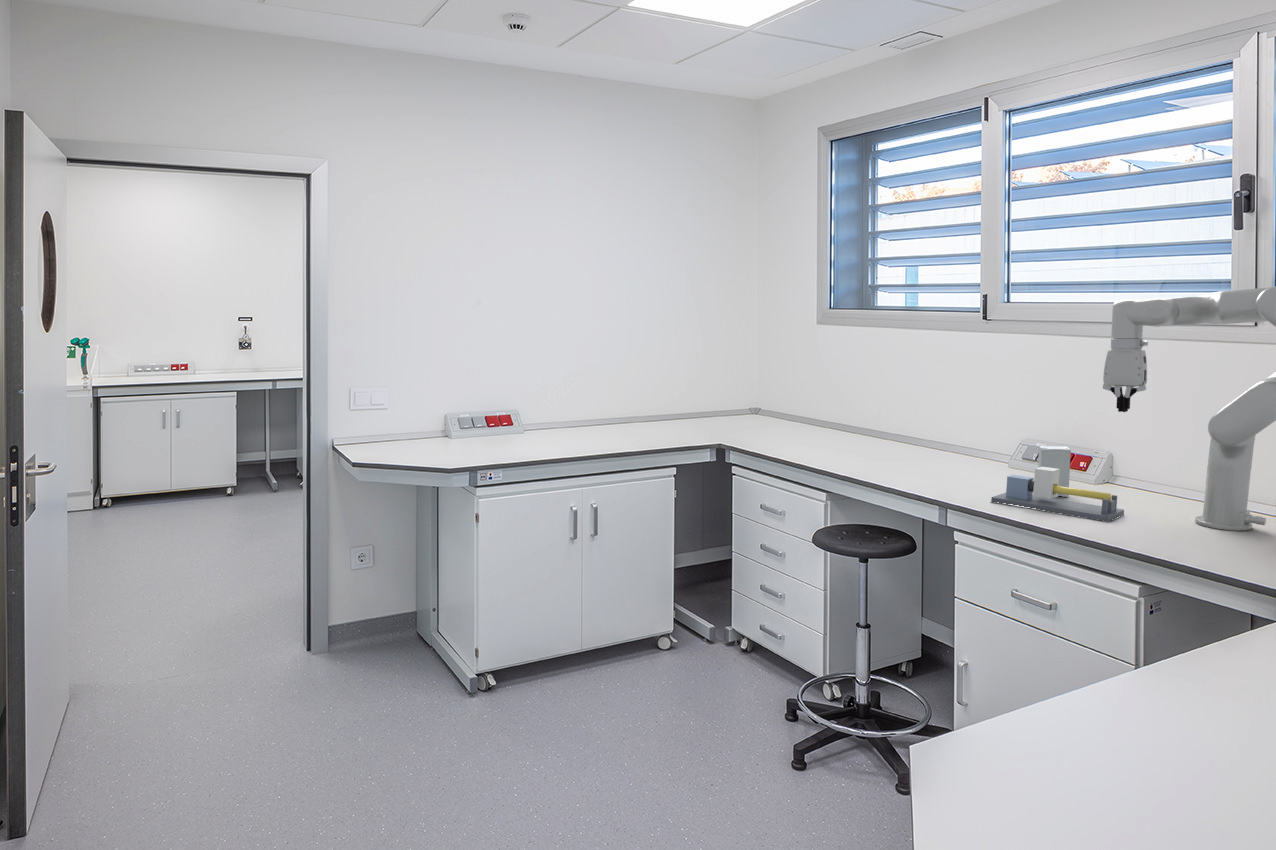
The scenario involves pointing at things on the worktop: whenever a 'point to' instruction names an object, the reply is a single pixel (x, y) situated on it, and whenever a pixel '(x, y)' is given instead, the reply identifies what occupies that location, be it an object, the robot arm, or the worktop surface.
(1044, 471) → the sleeve
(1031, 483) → the yellow rod jig
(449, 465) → the worktop surface
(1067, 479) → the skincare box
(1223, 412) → the robot arm
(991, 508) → the worktop surface
